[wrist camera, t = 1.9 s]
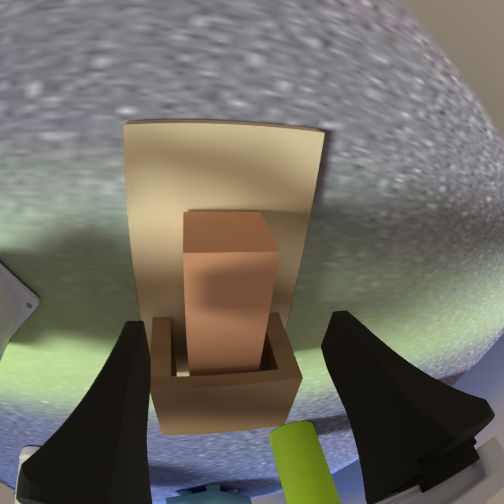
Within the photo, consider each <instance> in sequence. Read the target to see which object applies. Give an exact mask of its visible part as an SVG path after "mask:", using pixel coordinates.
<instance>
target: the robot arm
mask: <svg viewBox="0 0 504 504" xmlns="http://www.w3.org/2000/svg"><path fill="white" fill-rule="evenodd" d="M29 303H30V304H31V305H30V304H29ZM39 303H40V300H39V298H38V297H37V296H36V295H35V294H34V293H33V292H31V291H30V290H29V289H28V288H27V287H26V286H25V285H24V284H22V283H21V282H20V281H19V280H18V279H17V278H16V277H15V276H14V275H13V274H11V273H10V272H9V271H8V270H7V269H6V268H5V267H4V266H3V265H2V264H1V263H0V361H1V359H2V356H3V353H4V351H5V349H6V346H7V344H8V341H9V339H10V338H11V337H12V335H13V334H14V333H15V332H16V331H17V329H18V328H19V327H20V326H21V325H22V324H23V322H24V321H25V320H26V319H27V318H28V317H29V316H30V315H31V313H32V312H33V311H34V310H35V309H36V308H37V307H38V305H39ZM321 349H322V352H323V356H324V360H325V363H326V366H327V369H328V372H329V374H330V376H331V378H332V381H333V383H334V385H335V388H336V390H337V392H338V394H339V397H340V399H341V401H342V403H343V406H344V408H345V410H346V413H347V415H348V418H349V421H350V424H351V428H352V431H353V435H354V438H355V442H356V446H357V450H358V454H359V459H360V464H361V469H362V475H363V482H364V489H365V498H366V502H367V504H486V503H487V502H488V501H489V500H490V499H491V498H493V496H495V495H496V494H497V493H498V492H499V491H500V490H501V489H502V488H503V487H504V450H503V448H502V446H501V444H500V442H499V441H498V439H497V437H494V438H492V439H491V440H489V441H488V442H486V443H485V444H483V445H482V446H481V447H479V448H478V449H476V450H475V448H474V445H475V444H476V442H477V441H476V440H475V438H474V437H475V436H476V435H477V434H478V433H479V432H480V431H481V430H482V429H483V428H485V427H486V426H487V425H488V424H489V423H490V422H491V420H492V419H493V418H494V416H495V414H494V412H493V410H492V409H491V407H490V405H489V404H488V403H487V401H486V400H485V399H482V398H479V397H476V396H473V395H470V394H467V393H464V392H462V391H460V390H457V389H455V388H452V387H450V386H448V385H446V384H444V383H442V382H440V381H438V380H437V379H435V378H433V377H431V376H429V375H428V374H426V373H424V372H423V371H421V370H420V369H418V368H417V367H415V366H414V365H412V364H411V363H409V362H408V361H406V360H405V359H404V358H402V357H401V356H400V355H398V354H397V353H396V352H395V351H393V350H392V349H391V348H390V347H388V346H387V345H386V344H385V343H384V342H382V341H381V340H380V339H379V338H378V337H377V336H375V335H374V334H373V333H372V332H371V331H370V330H369V329H367V328H366V327H365V326H364V325H363V324H362V323H361V322H360V321H358V320H357V319H356V318H355V317H354V316H353V315H351V314H350V313H349V312H348V311H336V312H333V314H332V316H331V319H330V322H329V325H328V328H327V331H326V334H325V336H324V339H323V342H322V345H321ZM150 386H151V357H150V352H149V347H148V341H147V336H146V331H145V325H144V321H127V322H126V323H125V325H124V327H123V329H122V331H121V334H120V336H119V338H118V340H117V342H116V344H115V346H114V348H113V350H112V352H111V353H110V355H109V357H108V359H107V361H106V363H105V364H104V366H103V368H102V370H101V371H100V373H99V374H98V376H97V378H96V379H95V381H94V383H93V384H92V386H91V387H90V389H89V390H88V392H87V393H86V395H85V396H84V398H83V399H82V400H81V402H80V403H79V404H78V406H77V407H76V408H75V410H74V411H73V412H72V413H71V415H70V416H69V417H68V418H67V420H66V421H65V422H64V423H63V424H62V426H61V427H60V428H59V429H58V430H57V431H56V432H55V433H54V434H53V435H52V436H51V437H50V438H49V439H48V440H47V441H46V442H45V443H44V444H43V445H42V446H41V447H40V448H39V449H38V450H37V451H36V452H35V453H34V454H32V455H31V456H30V457H29V458H28V459H27V460H26V461H24V462H23V463H22V464H21V468H20V471H19V475H18V482H17V492H16V499H17V501H18V502H19V503H21V504H152V497H151V490H150V481H149V470H148V458H147V421H148V408H149V397H150Z"/></svg>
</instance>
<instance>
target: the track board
mask: <svg viewBox="0 0 504 504" xmlns="http://www.w3.org/2000/svg"><path fill="white" fill-rule="evenodd" d="M324 134H325V133H324V132H322V131H320V130H318V129H315V128H307V127H298V126H289V125H279V124H267V123H254V122H239V121H217V120H144V121H128V122H127V123H125V124H124V162H125V184H126V200H127V213H128V225H129V235H130V245H131V254H132V262H133V270H134V277H135V284H136V291H137V297H138V304H139V310H140V316H141V321H144V325H145V331H146V336H147V341H148V347H149V352H150V351H151V334H152V319H153V317H171V325H172V335H173V344H174V353H175V361H176V369H177V376H189V364H188V351H187V336H186V319H185V298H184V270H183V212H260V213H261V215H262V217H263V219H264V221H265V223H266V225H267V227H268V229H269V231H270V233H271V235H272V237H273V239H274V241H275V243H276V245H277V247H278V249H279V251H280V254H279V260H278V266H277V272H276V278H275V283H274V289H273V295H272V301H271V306H270V312H269V313H277V312H279V315H280V318H281V320H282V323H283V326H284V329H285V330H286V326H287V321H288V317H289V313H290V308H291V304H292V300H293V295H294V291H295V286H296V282H297V277H298V272H299V268H300V263H301V258H302V254H303V249H304V244H305V239H306V234H307V229H308V224H309V219H310V214H311V208H312V203H313V198H314V192H315V187H316V181H317V176H318V170H319V164H320V158H321V152H322V146H323V140H324Z"/></svg>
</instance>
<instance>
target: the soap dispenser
mask: <svg viewBox="0 0 504 504" xmlns="http://www.w3.org/2000/svg"><path fill="white" fill-rule="evenodd" d="M269 439H270V443H271V447H272V450H273V454H274V458H275V462H276V465H277V469H278V473H279V477H280V480H281V484H282V488H283V491H284V495H285V499H286V502H287V504H341V502H340V499H339V496H338V493H337V490H336V487H335V484H334V482H333V479H332V476H331V473H330V470H329V467H328V465H327V462H326V459H325V456H324V453H323V451H322V448H321V445H320V442H319V439H318V436H317V434H316V431H315V428H314V425H313V423H311V422H308V421H298V422H293V423H289V424H286V425H283V426H281V427H279V428H277V429H275V430H274V431H272V432H271V433H270V435H269Z"/></svg>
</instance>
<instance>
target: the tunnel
mask: <svg viewBox="0 0 504 504" xmlns="http://www.w3.org/2000/svg"><path fill="white" fill-rule="evenodd" d="M150 357H151V386H150V393H151V397H152V401H153V404H154V408H155V411H156V414H157V418H158V421H159V424H160V427H161V430H162V433H163V435H187V434H208V433H222V432H234V431H244V430H253V429H261V428H268V427H275V426H282V425H284V424H285V422H286V419H287V417H288V414H289V412H290V409H291V407H292V404H293V402H294V399H295V397H296V394H297V392H298V389H299V386H300V384H301V381H302V378H303V377H302V374H301V372H300V369H299V366H298V364H297V361H296V358H295V356H294V353H293V350H292V347H291V345H290V342H289V339H288V337H287V334H286V331H285V329H284V326H283V323H282V320H281V318H280V315H279V312H277V313H269V317H268V323H267V328H266V334H265V339H264V345H263V350H262V355H261V361H260V366H259V371H258V372H249V373H236V374H222V375H204V376H177V369H176V361H175V353H174V344H173V335H172V325H171V317H153V319H152V334H151V351H150Z"/></svg>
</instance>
